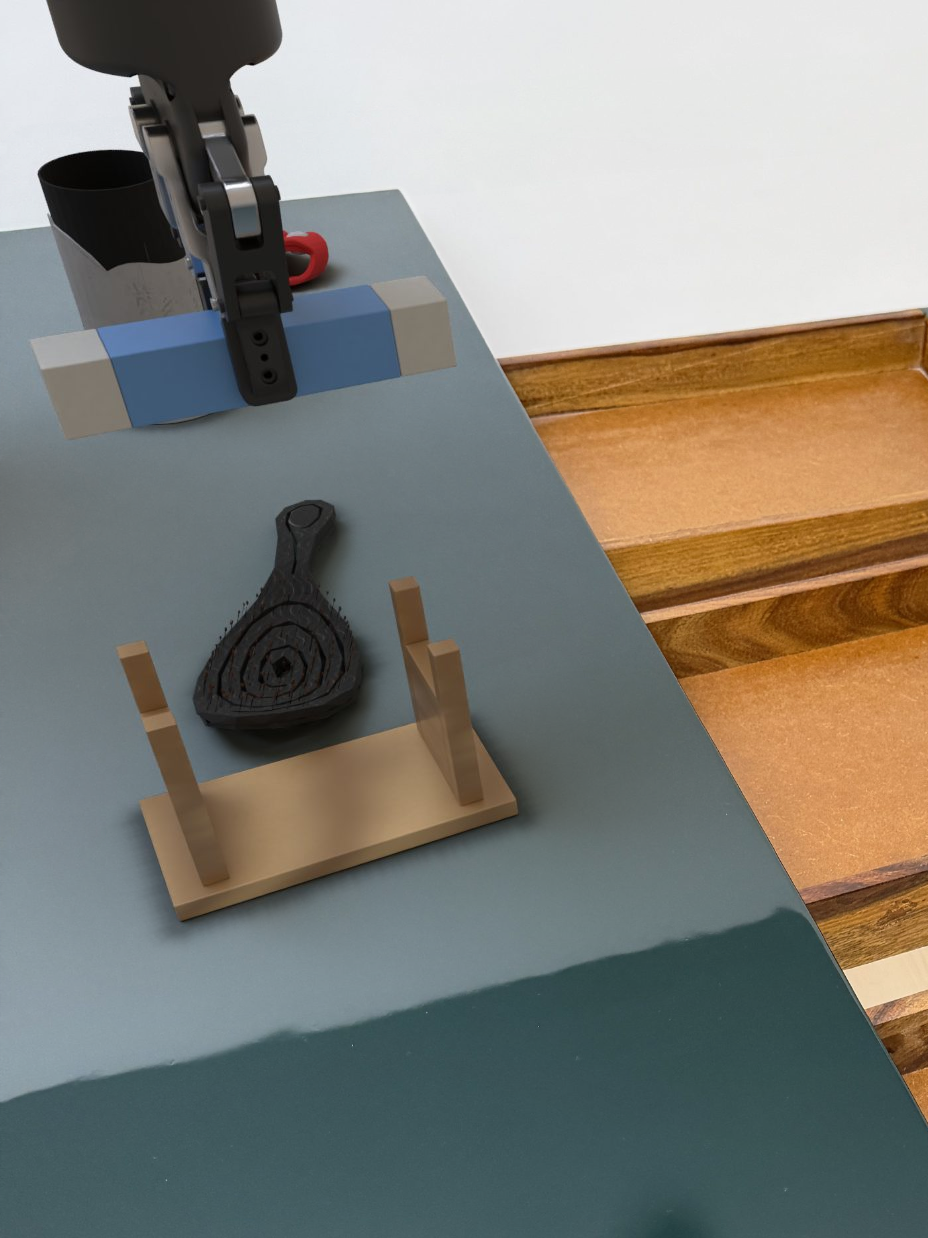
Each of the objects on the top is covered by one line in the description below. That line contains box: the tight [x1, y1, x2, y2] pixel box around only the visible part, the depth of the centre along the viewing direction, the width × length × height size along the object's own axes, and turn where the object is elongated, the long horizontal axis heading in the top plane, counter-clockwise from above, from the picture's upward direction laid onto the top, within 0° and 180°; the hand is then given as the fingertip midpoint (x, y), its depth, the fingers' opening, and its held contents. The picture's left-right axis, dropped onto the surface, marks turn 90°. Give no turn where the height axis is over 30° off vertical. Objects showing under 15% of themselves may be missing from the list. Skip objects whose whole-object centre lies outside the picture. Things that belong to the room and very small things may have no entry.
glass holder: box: [37, 149, 208, 425], centre depth 95 cm, size 9×14×15 cm, turn 123°
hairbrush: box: [192, 499, 364, 731], centre depth 79 cm, size 8×4×25 cm
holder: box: [115, 575, 519, 922], centre depth 65 cm, size 16×8×10 cm, turn 120°
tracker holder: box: [283, 229, 330, 287], centre depth 112 cm, size 12×4×10 cm
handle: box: [28, 275, 457, 441], centre depth 59 cm, size 16×3×3 cm, turn 121°
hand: (259, 380), depth 59 cm, fingers closed on handle, 3 cm apart
